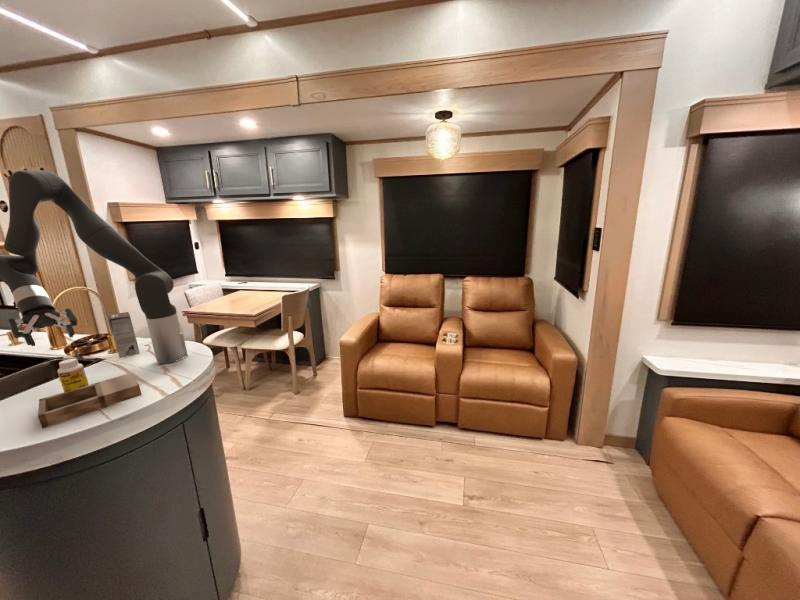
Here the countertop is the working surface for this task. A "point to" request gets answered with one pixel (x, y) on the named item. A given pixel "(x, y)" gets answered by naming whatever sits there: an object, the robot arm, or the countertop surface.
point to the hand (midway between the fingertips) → (53, 340)
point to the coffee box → (123, 334)
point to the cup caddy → (87, 399)
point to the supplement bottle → (72, 375)
